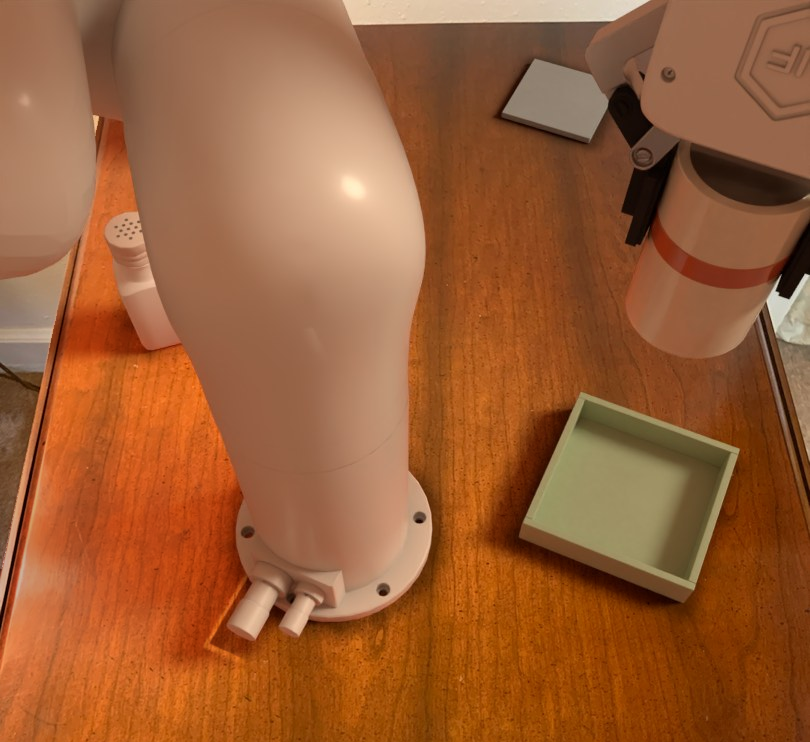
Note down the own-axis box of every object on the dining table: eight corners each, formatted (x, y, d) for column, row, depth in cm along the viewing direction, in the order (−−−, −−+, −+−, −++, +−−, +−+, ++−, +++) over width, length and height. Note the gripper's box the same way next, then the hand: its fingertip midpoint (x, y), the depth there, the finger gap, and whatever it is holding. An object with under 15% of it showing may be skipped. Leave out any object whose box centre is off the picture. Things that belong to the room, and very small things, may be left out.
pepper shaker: (199, 342, 60) (165, 244, 52) (145, 355, 60) (101, 258, 51) (188, 302, 62) (154, 200, 53) (136, 314, 61) (92, 214, 53)
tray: (681, 605, 51) (693, 590, 49) (517, 539, 53) (522, 522, 51) (727, 467, 55) (740, 448, 53) (573, 411, 57) (580, 391, 55)
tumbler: (731, 378, 40) (814, 236, 32) (606, 332, 41) (655, 184, 33) (766, 287, 43) (852, 134, 34) (647, 246, 44) (703, 89, 36)
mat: (588, 143, 69) (589, 138, 69) (501, 117, 71) (501, 112, 70) (618, 87, 73) (619, 82, 72) (533, 63, 74) (534, 58, 74)
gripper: (589, -251, 22) (512, 244, 39) (1286, -97, 19) (883, 375, 35) (673, -355, 25) (569, 146, 41) (1290, -237, 22) (916, 258, 38)
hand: (715, 248), depth 38 cm, fingers closed on tumbler, 6 cm apart
